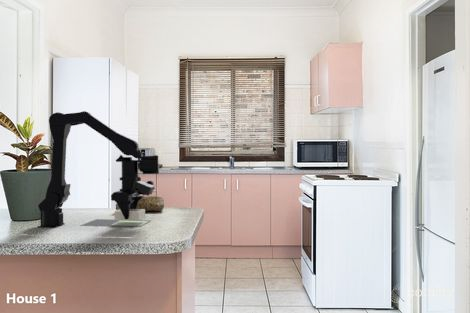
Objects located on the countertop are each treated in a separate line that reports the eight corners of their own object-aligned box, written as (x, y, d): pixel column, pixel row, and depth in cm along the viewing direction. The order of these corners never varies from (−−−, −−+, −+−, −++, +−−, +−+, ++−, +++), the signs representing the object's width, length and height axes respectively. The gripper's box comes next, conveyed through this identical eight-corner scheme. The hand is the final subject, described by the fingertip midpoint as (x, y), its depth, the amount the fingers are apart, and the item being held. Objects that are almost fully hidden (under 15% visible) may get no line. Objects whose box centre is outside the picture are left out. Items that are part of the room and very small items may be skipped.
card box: (139, 221, 135) (139, 211, 135) (114, 220, 136) (114, 211, 136) (145, 217, 141) (145, 208, 141) (121, 217, 142) (121, 208, 142)
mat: (79, 226, 134) (79, 225, 134) (96, 220, 146) (96, 218, 146) (140, 228, 132) (140, 226, 132) (152, 221, 144) (152, 220, 144)
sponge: (161, 211, 174) (116, 204, 170) (165, 195, 173) (119, 187, 168) (161, 222, 162) (113, 214, 157) (165, 205, 161) (117, 196, 156)
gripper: (142, 176, 128) (142, 223, 128) (159, 172, 146) (160, 213, 147) (110, 176, 129) (110, 222, 130) (131, 172, 148) (132, 212, 148)
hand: (130, 217), depth 138 cm, fingers closed on card box, 6 cm apart
